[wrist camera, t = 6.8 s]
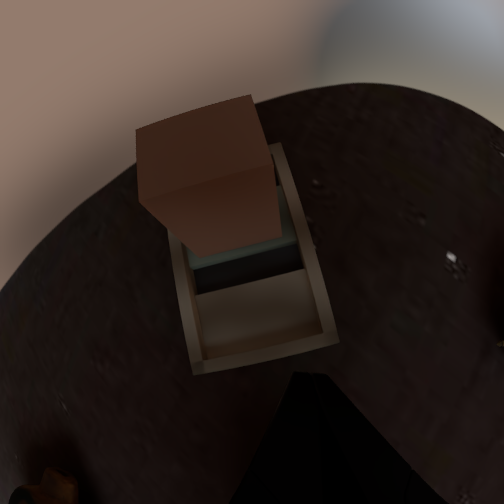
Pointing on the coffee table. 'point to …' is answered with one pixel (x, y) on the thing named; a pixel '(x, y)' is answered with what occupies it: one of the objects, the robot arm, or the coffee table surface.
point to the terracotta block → (210, 177)
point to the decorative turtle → (49, 489)
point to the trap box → (255, 292)
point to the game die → (500, 343)
